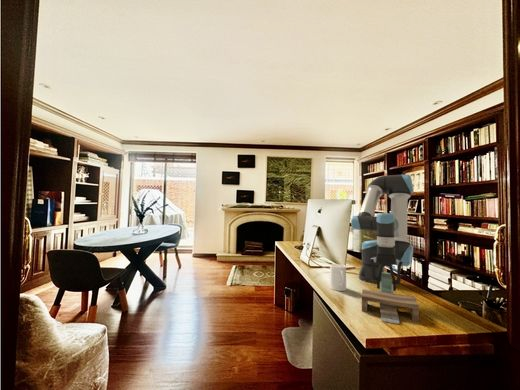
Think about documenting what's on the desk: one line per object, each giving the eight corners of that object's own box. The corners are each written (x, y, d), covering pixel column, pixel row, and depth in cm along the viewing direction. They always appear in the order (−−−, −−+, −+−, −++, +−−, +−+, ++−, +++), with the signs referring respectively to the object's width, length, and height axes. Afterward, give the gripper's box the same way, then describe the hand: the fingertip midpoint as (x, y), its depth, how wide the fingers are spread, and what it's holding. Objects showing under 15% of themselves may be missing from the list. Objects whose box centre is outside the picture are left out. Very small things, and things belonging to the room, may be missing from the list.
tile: (380, 315, 97) (380, 311, 97) (397, 318, 94) (397, 314, 94) (381, 321, 92) (381, 317, 92) (399, 325, 89) (399, 320, 89)
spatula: (379, 297, 115) (378, 272, 116) (393, 299, 113) (393, 273, 113) (380, 312, 97) (379, 282, 98) (397, 315, 94) (396, 284, 95)
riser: (362, 302, 109) (362, 289, 109) (414, 311, 101) (414, 296, 101) (361, 311, 100) (361, 296, 100) (418, 321, 92) (418, 305, 92)
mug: (350, 293, 121) (350, 269, 121) (333, 292, 121) (333, 268, 122) (344, 286, 132) (343, 263, 133) (328, 285, 133) (328, 263, 134)
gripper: (365, 245, 114) (366, 296, 112) (407, 248, 106) (408, 302, 105) (366, 243, 120) (366, 291, 119) (405, 246, 113) (406, 297, 112)
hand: (386, 296), depth 112 cm, fingers closed on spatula, 4 cm apart
